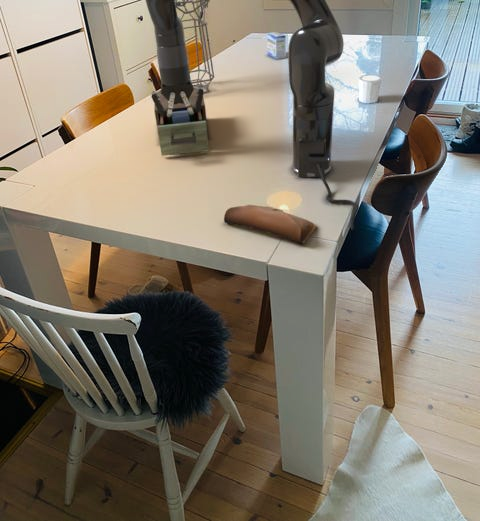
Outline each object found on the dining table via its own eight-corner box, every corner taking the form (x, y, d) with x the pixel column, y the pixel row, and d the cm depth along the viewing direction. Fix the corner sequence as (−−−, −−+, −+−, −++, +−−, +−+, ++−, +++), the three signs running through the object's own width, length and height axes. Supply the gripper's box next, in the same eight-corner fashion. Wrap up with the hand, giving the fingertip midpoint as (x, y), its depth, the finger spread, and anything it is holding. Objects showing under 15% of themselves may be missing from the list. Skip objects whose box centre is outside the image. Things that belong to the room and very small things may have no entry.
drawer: (210, 157, 131) (207, 128, 126) (161, 162, 130) (157, 134, 125) (204, 129, 146) (202, 102, 141) (161, 134, 145) (157, 107, 141)
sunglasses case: (318, 223, 104) (312, 207, 98) (306, 252, 102) (299, 238, 96) (243, 204, 112) (233, 188, 106) (230, 232, 110) (220, 217, 104)
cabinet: (208, 139, 143) (205, 105, 137) (159, 144, 142) (154, 110, 136) (204, 118, 156) (201, 87, 150) (159, 123, 155) (154, 91, 149)
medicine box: (267, 55, 208) (266, 33, 203) (276, 53, 209) (276, 31, 204) (276, 59, 202) (275, 36, 197) (286, 57, 203) (285, 35, 198)
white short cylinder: (354, 102, 159) (356, 80, 155) (360, 95, 164) (362, 73, 160) (376, 105, 156) (378, 82, 152) (381, 97, 161) (384, 75, 157)
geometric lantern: (179, 101, 170) (164, -16, 149) (167, 88, 181) (151, -22, 160) (223, 92, 174) (214, -23, 153) (208, 80, 186) (197, -28, 165)
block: (191, 132, 134) (189, 116, 132) (174, 133, 134) (172, 117, 131) (190, 125, 138) (188, 110, 135) (174, 127, 137) (171, 112, 135)
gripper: (144, 69, 122) (155, 136, 132) (203, 63, 123) (209, 130, 133) (145, 61, 128) (155, 126, 138) (200, 55, 129) (207, 120, 139)
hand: (182, 128), depth 135 cm, fingers closed on block, 4 cm apart
